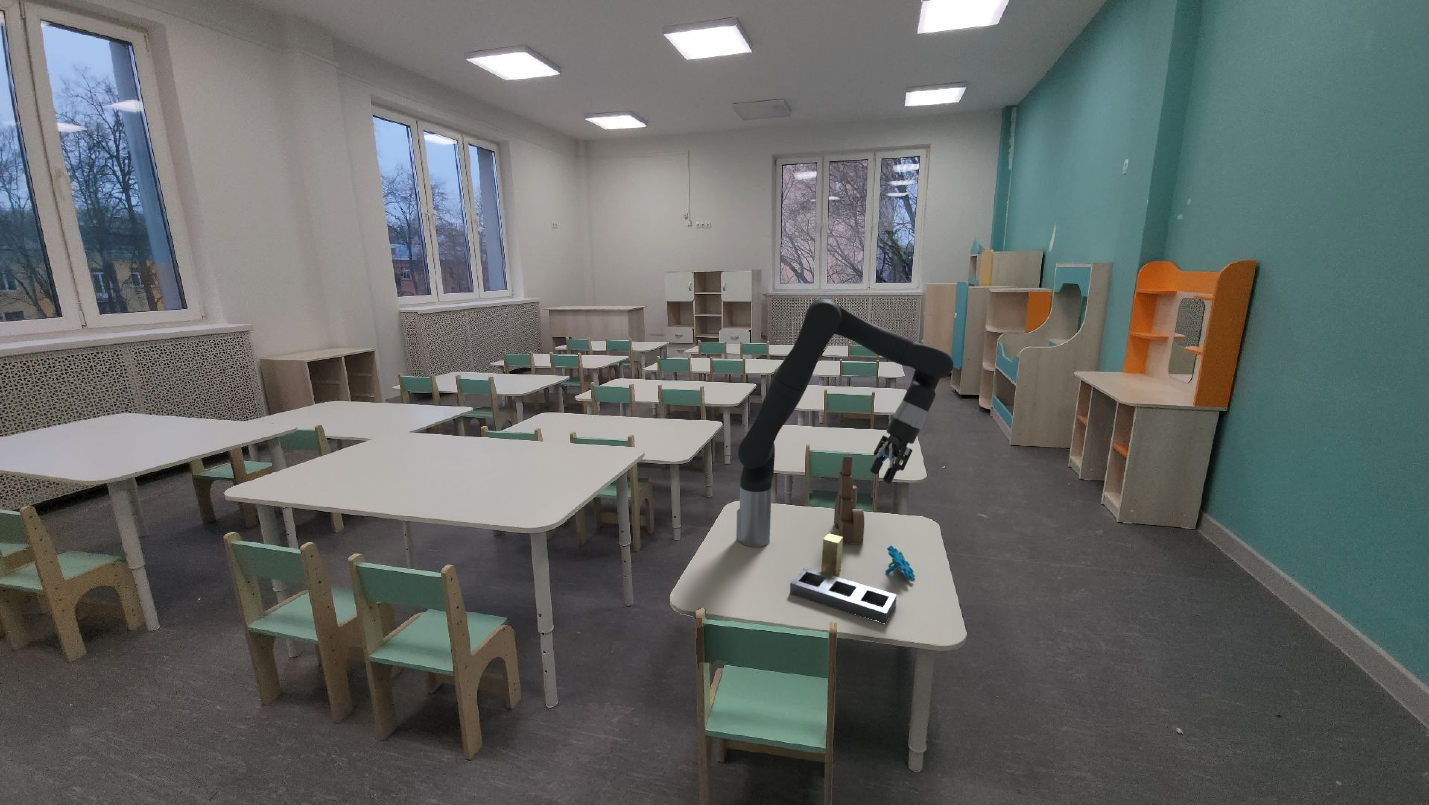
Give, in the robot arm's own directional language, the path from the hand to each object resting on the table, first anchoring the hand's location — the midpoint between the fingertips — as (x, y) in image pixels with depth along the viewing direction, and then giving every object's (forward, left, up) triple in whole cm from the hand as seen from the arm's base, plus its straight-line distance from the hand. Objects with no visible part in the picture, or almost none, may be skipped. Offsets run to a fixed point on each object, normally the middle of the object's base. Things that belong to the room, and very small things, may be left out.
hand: (879, 477), depth 152 cm
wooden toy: (-13, +16, -26) cm, 33 cm away
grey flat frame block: (-2, -20, -26) cm, 33 cm away
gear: (+7, 0, -26) cm, 27 cm away
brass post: (-9, -9, -26) cm, 29 cm away
